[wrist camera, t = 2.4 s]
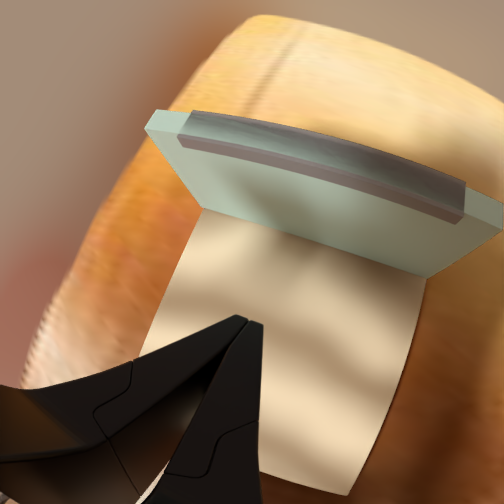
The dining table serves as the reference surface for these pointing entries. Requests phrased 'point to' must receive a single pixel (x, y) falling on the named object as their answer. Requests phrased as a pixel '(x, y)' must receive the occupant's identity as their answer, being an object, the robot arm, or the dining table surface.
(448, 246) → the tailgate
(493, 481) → the dining table surface
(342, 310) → the beige flat square pad
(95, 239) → the dining table surface
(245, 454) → the robot arm
